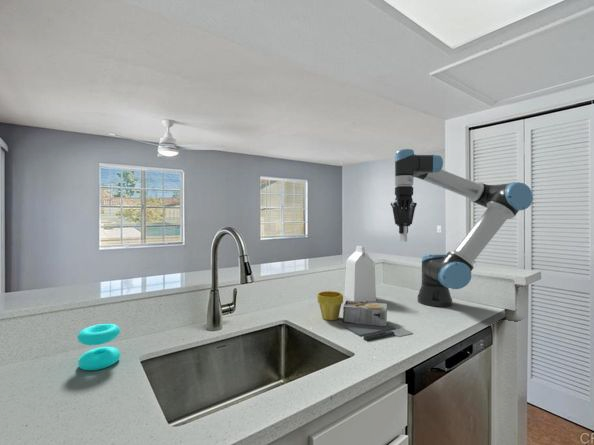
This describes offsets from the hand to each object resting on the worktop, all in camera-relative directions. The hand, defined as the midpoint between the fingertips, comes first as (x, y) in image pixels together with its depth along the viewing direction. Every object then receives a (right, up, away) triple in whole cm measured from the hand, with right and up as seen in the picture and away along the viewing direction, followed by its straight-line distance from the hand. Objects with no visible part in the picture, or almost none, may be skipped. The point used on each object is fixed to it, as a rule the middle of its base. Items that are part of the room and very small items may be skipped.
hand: (403, 241), depth 136 cm
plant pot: (-32, -31, -8) cm, 45 cm away
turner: (-14, -31, -26) cm, 43 cm away
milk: (-14, -30, +22) cm, 40 cm away
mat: (-20, -31, -18) cm, 41 cm away
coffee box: (-11, -27, -16) cm, 33 cm away
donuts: (-101, -32, -48) cm, 116 cm away
